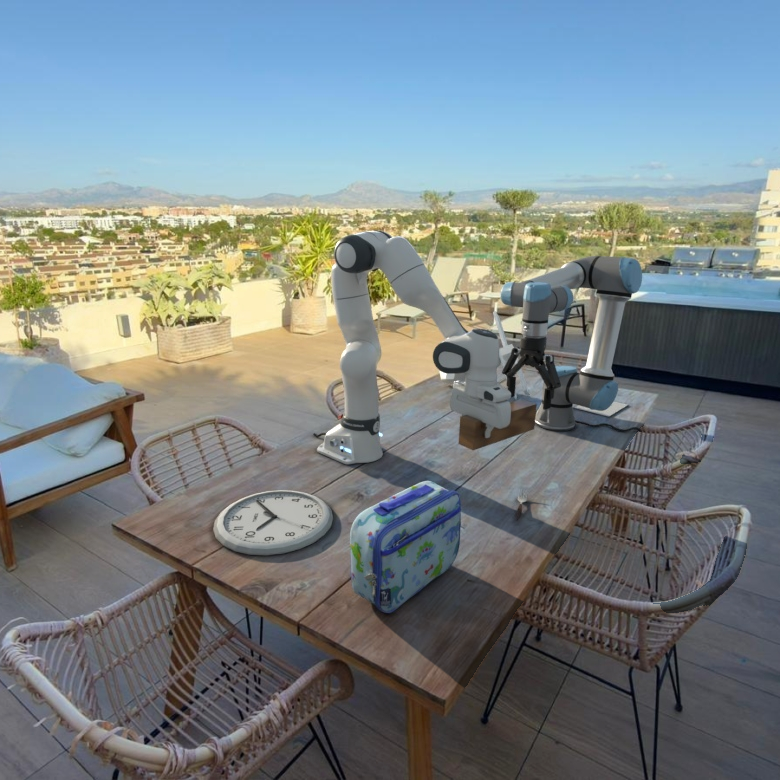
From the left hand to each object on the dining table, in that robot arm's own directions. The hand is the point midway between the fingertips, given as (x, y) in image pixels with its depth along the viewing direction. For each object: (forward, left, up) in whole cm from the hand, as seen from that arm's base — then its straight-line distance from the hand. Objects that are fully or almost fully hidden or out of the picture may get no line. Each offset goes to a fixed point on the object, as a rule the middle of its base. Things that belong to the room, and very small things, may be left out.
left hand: (476, 433), depth 151 cm
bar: (+3, +9, -3) cm, 10 cm away
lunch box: (+5, -50, -17) cm, 53 cm away
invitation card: (+20, +97, -17) cm, 101 cm away
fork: (+16, -6, -17) cm, 24 cm away
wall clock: (-36, -46, -17) cm, 61 cm away
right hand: (+8, +21, +5) cm, 23 cm away
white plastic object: (-32, +87, -17) cm, 95 cm away
